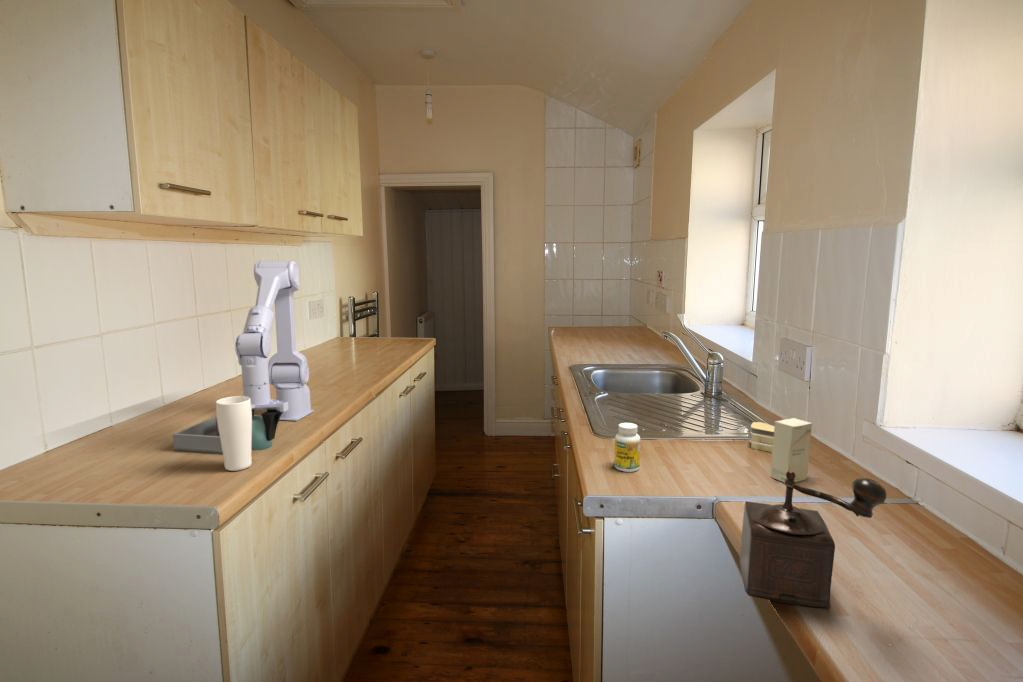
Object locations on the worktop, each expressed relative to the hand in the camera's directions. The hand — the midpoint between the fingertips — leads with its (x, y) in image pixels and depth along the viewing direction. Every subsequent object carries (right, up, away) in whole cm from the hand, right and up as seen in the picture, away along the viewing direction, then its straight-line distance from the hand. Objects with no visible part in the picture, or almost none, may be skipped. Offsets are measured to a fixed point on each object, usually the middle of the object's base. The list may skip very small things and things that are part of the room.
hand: (260, 438), depth 132 cm
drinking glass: (+1, -4, -12) cm, 13 cm away
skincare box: (+118, -5, -17) cm, 119 cm away
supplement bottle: (+85, -4, -12) cm, 86 cm away
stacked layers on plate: (+121, -3, +1) cm, 121 cm away
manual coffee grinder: (+101, -11, -54) cm, 115 cm away
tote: (-11, -1, +5) cm, 12 cm away
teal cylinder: (0, -2, 0) cm, 2 cm away
